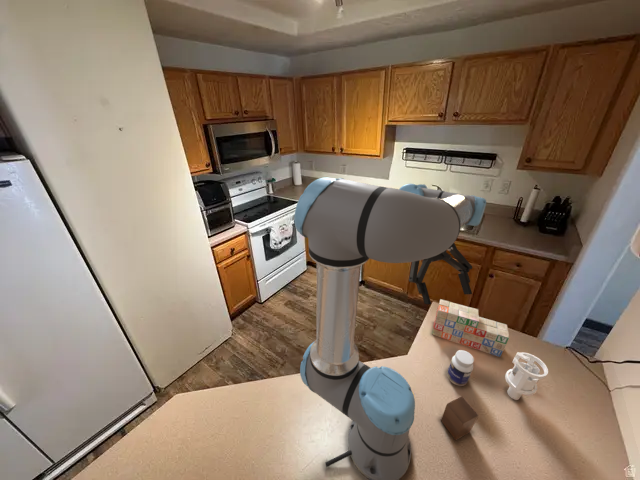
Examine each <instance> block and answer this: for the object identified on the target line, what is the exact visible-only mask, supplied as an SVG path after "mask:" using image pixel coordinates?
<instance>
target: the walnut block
mask: <svg viewBox="0 0 640 480" xmlns="http://www.w3.org/2000/svg"><path fill="white" fill-rule="evenodd" d="M478 417H479V414H478V412H477V411H476V410H475V409H474V408H473V407H472V405H470V404H469V402H468V401H467V400H466V399H465V398H464V397H463V396H460V397H457V398H455V399H454V400H452V401H449V402H447V403H446V406H445V409H444V411H443V414H442V416H441V419H440V422H441V423H442V424H443V425H444V427H445V428H446V429H447V431H448V432H449V433H450V435H451V436H452V438H453V439H454V440H455V441H457V440H458V439H460V438H462V437H464V436H466V435H467V434H469V433H471V431H472V429H473V427H474V426H475V423H476V422H477V419H478Z"/></svg>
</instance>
